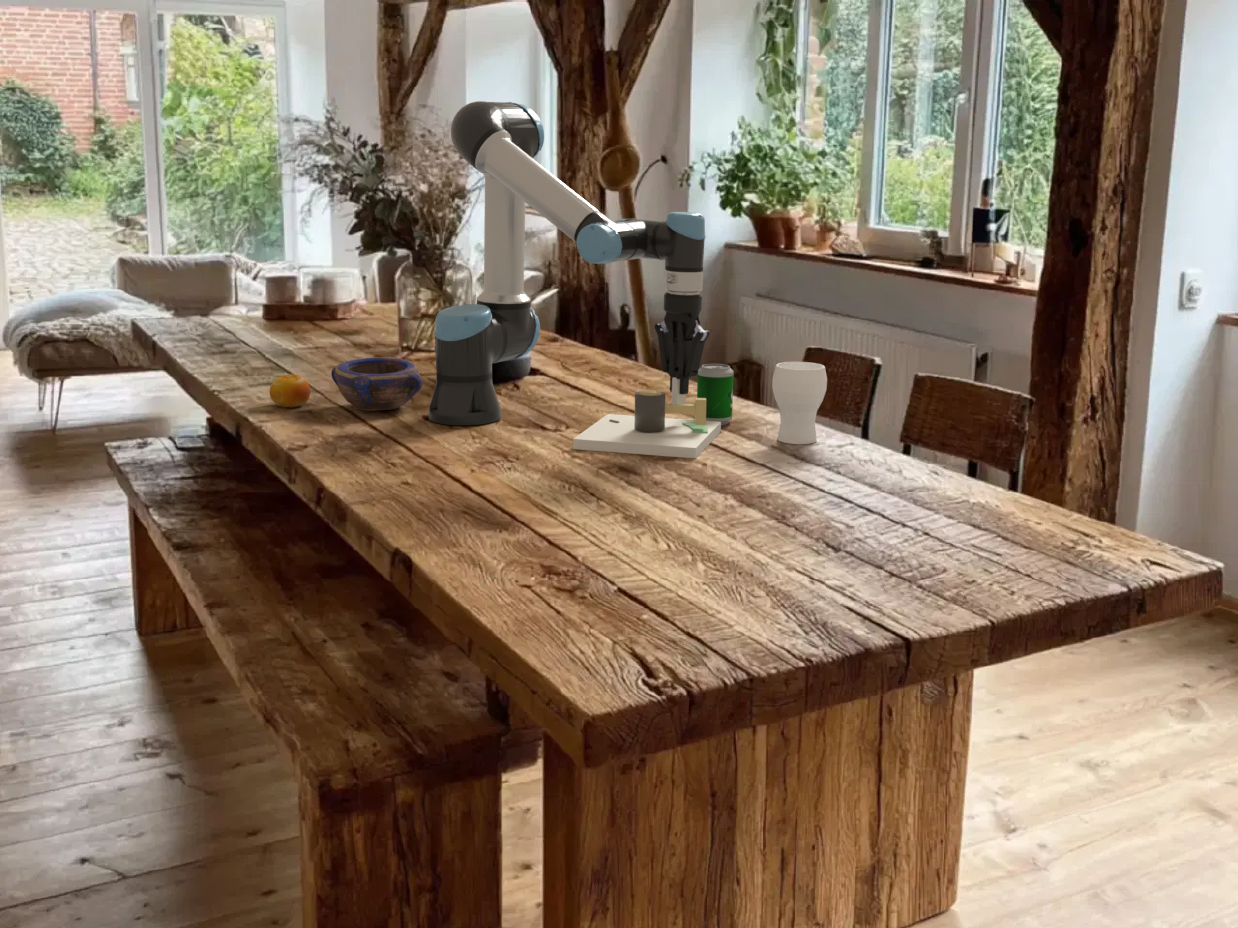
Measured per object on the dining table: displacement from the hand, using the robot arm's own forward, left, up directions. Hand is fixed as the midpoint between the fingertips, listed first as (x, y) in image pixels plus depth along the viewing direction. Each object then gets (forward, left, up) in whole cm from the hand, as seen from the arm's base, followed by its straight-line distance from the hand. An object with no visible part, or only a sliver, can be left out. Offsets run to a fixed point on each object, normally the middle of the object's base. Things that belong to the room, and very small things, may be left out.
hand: (678, 409), depth 259 cm
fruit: (-87, -1, -5) cm, 87 cm away
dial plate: (-4, -8, -5) cm, 10 cm away
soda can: (+5, +12, -5) cm, 14 cm away
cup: (+24, +1, -5) cm, 25 cm away
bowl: (-68, +3, -5) cm, 68 cm away
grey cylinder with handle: (0, -6, -3) cm, 7 cm away
